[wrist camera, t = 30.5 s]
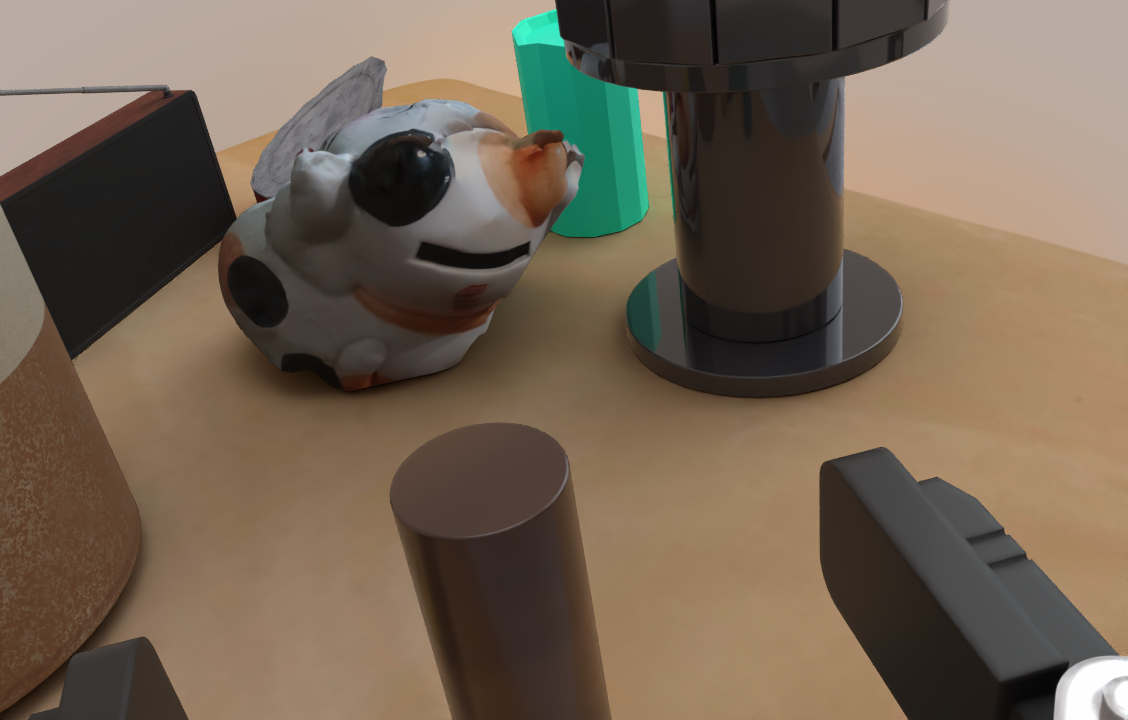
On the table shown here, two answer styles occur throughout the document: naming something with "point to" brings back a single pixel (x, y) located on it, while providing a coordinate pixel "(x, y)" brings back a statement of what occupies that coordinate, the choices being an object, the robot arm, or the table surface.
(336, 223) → the lucky cat figurine
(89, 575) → the planter
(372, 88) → the canned food
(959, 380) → the table surface
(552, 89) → the candle
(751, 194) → the bowl
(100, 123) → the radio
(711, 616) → the table surface
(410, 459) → the stick
